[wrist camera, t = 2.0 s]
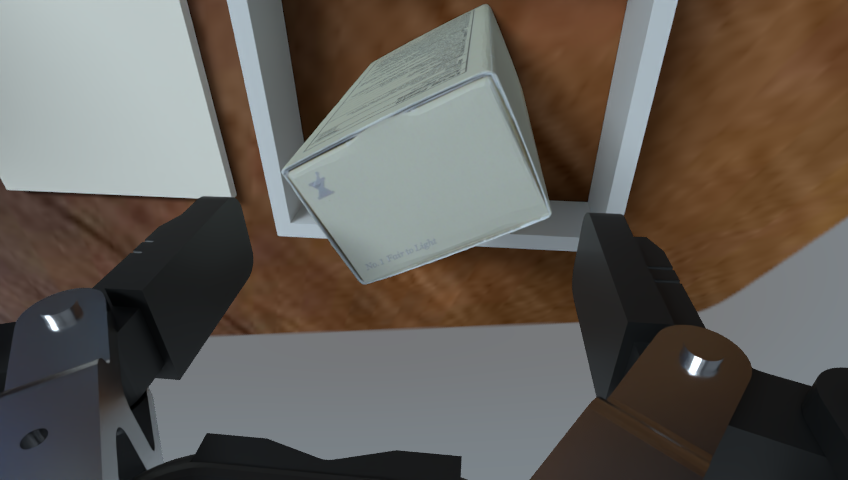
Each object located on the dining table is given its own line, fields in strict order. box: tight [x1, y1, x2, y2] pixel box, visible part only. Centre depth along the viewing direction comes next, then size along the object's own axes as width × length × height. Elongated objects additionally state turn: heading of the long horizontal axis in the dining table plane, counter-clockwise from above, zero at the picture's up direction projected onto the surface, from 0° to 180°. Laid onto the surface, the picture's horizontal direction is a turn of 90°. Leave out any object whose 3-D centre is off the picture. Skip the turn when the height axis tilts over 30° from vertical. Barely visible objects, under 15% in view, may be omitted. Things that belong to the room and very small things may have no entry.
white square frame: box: [227, 0, 678, 251], centre depth 21 cm, size 15×17×4 cm
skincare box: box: [281, 4, 552, 284], centre depth 18 cm, size 6×4×12 cm
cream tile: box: [0, 0, 237, 198], centre depth 24 cm, size 14×14×1 cm
